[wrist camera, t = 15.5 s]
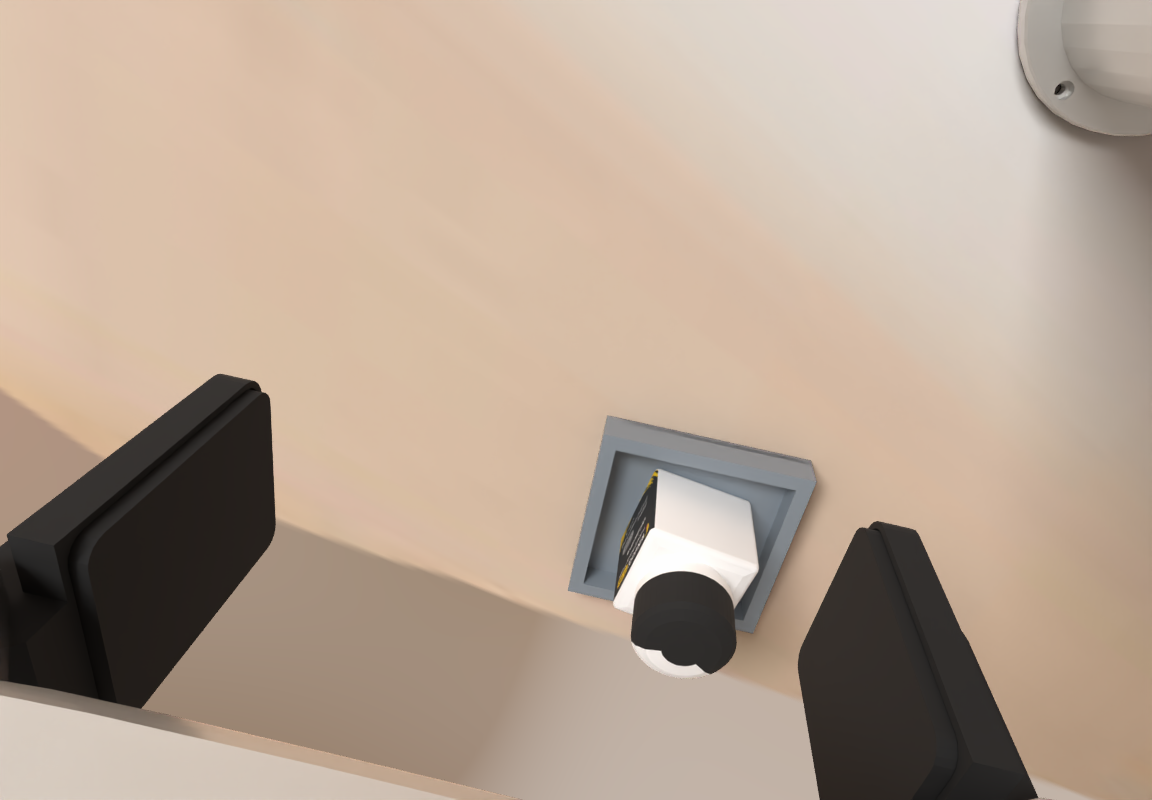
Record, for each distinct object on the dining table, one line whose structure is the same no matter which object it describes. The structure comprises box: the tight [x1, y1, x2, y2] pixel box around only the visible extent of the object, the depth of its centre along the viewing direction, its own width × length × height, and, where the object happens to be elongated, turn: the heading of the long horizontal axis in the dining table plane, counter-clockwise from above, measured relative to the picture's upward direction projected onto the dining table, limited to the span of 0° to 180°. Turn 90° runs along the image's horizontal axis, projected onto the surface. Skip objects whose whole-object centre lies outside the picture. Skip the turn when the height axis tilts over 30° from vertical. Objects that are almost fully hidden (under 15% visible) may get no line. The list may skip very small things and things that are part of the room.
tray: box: [568, 415, 817, 633], centre depth 51 cm, size 14×14×2 cm
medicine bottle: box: [613, 469, 759, 679], centre depth 46 cm, size 7×7×12 cm
